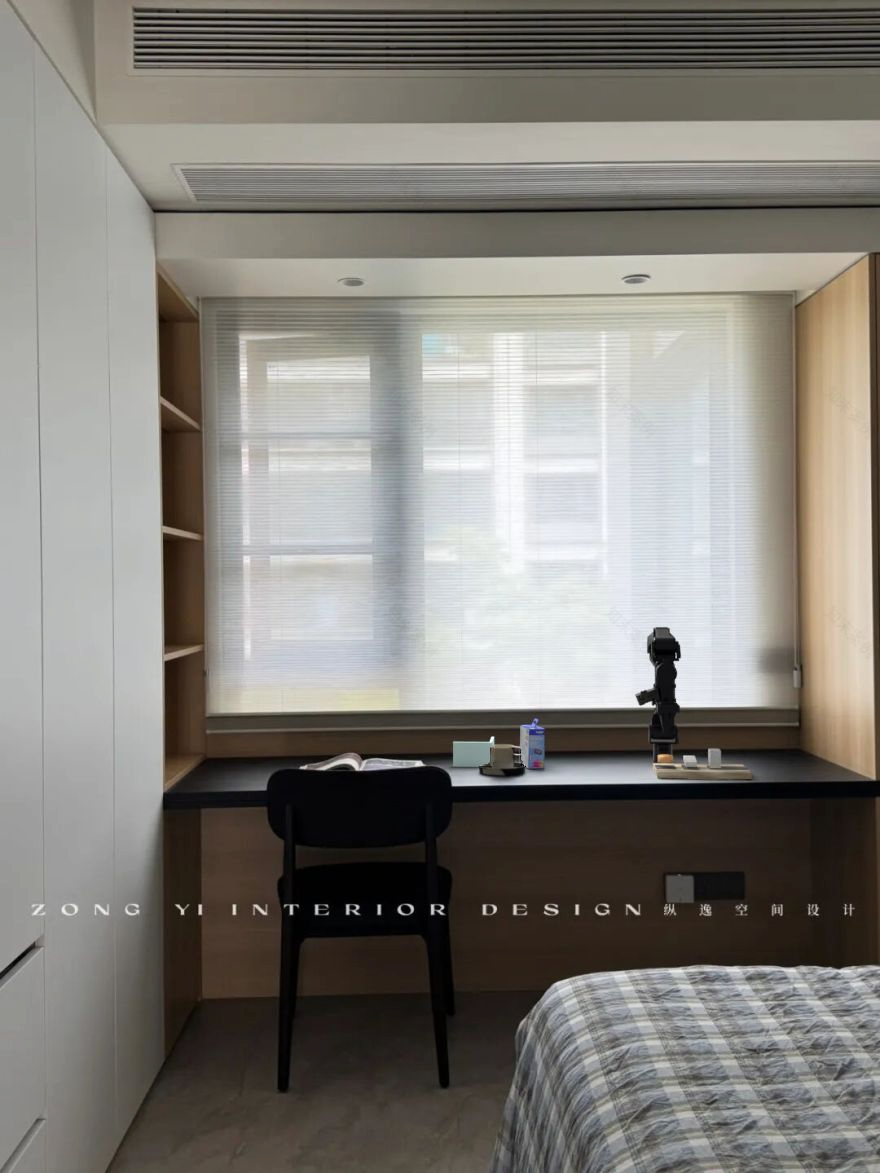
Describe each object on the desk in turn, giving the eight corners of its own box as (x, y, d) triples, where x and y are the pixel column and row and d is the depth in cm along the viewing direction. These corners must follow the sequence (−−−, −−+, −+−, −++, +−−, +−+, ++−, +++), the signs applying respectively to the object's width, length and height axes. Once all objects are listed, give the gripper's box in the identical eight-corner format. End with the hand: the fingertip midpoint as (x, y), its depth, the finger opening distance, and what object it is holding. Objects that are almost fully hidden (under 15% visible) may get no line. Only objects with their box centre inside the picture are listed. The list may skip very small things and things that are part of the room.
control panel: (652, 769, 291) (652, 762, 291) (742, 770, 288) (742, 763, 288) (657, 778, 277) (657, 770, 277) (751, 780, 274) (751, 772, 274)
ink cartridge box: (545, 768, 294) (545, 720, 294) (528, 769, 293) (527, 721, 293) (536, 763, 304) (535, 716, 304) (519, 764, 303) (518, 717, 303)
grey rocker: (683, 760, 286) (683, 755, 285) (694, 760, 285) (694, 755, 285) (685, 766, 280) (685, 762, 280) (697, 766, 280) (697, 762, 279)
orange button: (657, 760, 286) (657, 754, 286) (672, 760, 285) (672, 754, 285) (658, 763, 282) (658, 756, 282) (674, 763, 281) (674, 757, 281)
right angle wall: (494, 760, 310) (494, 736, 310) (492, 767, 298) (492, 742, 298) (456, 759, 311) (456, 736, 311) (453, 766, 299) (453, 742, 299)
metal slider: (708, 765, 284) (708, 748, 284) (718, 765, 284) (718, 748, 284) (710, 768, 280) (710, 750, 280) (721, 768, 280) (720, 750, 280)
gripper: (634, 677, 294) (634, 728, 294) (639, 683, 275) (640, 738, 275) (672, 677, 293) (672, 729, 293) (679, 683, 274) (680, 738, 274)
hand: (665, 733), depth 284 cm, fingers closed
